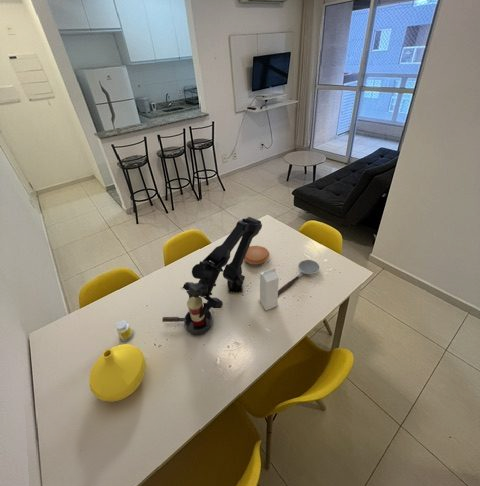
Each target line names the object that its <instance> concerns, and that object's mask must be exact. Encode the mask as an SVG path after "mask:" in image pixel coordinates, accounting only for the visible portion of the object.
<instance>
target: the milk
mask: <svg viewBox="0 0 480 486" xmlns="http://www.w3.org/2000/svg"><path fill="white" fill-rule="evenodd" d="M276 270H277V269H276V267H274V268H271V269H268V270H265V271H263V272H260V273H259V302H260V304H261V305H262V307H263V308H264V310H265V311H269V310H271V309H273V308H276V307H278V297H279V295H278V290H279V283H280V282H279V281H280V277H279V274H278V273H277V271H276Z"/></svg>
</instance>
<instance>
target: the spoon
mask: <svg viewBox="0 0 480 486" xmlns="http://www.w3.org/2000/svg"><path fill="white" fill-rule="evenodd" d="M297 268H298V270H299V274H298V275H297V276H295V277H294V278H293V279H291V280H290V281H288V282H287V283H285V284H284V285H283V286H282V287H281V288H280V289H278V296H279V295H281V293H284V292H285V291H286V290H287V289H289V288H290V287H291V286H292V285H293V284H294V283H295V282H296V281H297V280H299V279H300V278H301V277H303V276H304V275H315V274H316V273H318V272H319V270H320V264H319V263H318V262H317V261H315V260H312V259H304V260H301V261H300V262H299V263H298V264H297Z"/></svg>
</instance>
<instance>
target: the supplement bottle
mask: <svg viewBox="0 0 480 486" xmlns="http://www.w3.org/2000/svg"><path fill="white" fill-rule="evenodd" d="M115 328H116V332H117V334H118V336H119V338H120V340H122V341H123V342H127V341H130V340H131V338H132V337H133V331H132V329H131V326H130V324H129V323H127V321H126V320H124V319H122V320H119V321H118V322H117V323H116V324H115Z"/></svg>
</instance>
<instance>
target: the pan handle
mask: <svg viewBox="0 0 480 486" xmlns="http://www.w3.org/2000/svg"><path fill="white" fill-rule="evenodd" d="M184 318H185V317H180V316H163V317H162V323H173V322H174V323H179V322H184Z"/></svg>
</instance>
